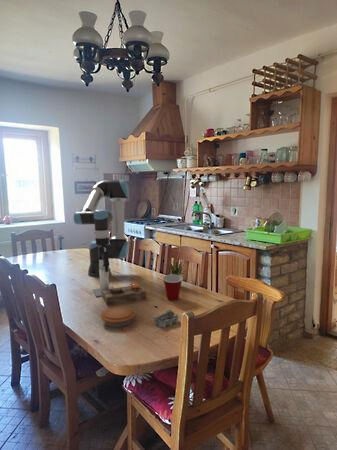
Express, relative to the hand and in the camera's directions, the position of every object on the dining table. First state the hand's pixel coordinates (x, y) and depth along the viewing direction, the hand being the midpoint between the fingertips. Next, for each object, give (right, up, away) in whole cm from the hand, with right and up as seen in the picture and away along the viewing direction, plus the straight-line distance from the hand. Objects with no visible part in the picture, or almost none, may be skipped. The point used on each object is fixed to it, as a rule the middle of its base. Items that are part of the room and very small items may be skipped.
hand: (104, 273), depth 181 cm
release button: (+18, -10, -7) cm, 22 cm away
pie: (+14, -16, -37) cm, 43 cm away
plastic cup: (+39, -12, -12) cm, 43 cm away
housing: (+13, -12, -9) cm, 19 cm away
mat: (0, -11, +1) cm, 11 cm away
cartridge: (0, -10, +1) cm, 10 cm away
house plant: (+43, -9, +8) cm, 44 cm away
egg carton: (+36, -16, -39) cm, 56 cm away
